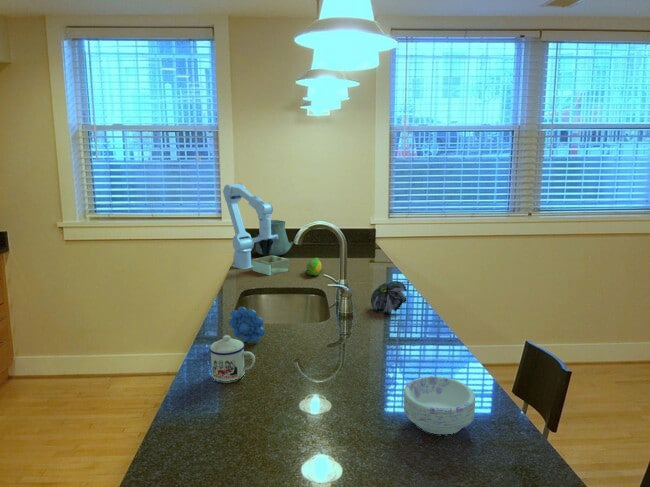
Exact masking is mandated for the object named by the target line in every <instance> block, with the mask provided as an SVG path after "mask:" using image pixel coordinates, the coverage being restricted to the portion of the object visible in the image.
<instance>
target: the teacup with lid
mask: <svg viewBox="0 0 650 487" xmlns="http://www.w3.org/2000/svg"><path fill="white" fill-rule="evenodd" d="M209 351H210V360H211V362H210V363H211V377H212V376H213V378H214V379H217V380H221V381H230V380H235V379H238V378H241V377H242V376H243V375H244V374H245V372H246V370H250V369H251V368H253V367H254V365H255V363H256V356H255V354H254V353H253V352H251V351H248V350H247V351H245V343H244V341H243V340H242V341H241V340H239V339H236V338H231V336H230V335H229V334H225V335H223V336H222V339H220V340H217V341H214V342H213V343H212V344H210V347H209ZM245 356H249V357H251V363H250V365H245ZM244 376H245V375H244ZM213 378H212V379H213Z"/></svg>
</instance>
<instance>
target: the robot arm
mask: <svg viewBox="0 0 650 487" xmlns="http://www.w3.org/2000/svg"><path fill="white" fill-rule="evenodd" d="M222 192H223V193H222V194H223V196H224V197H223V198H224V201H225V202H226V205H227V209H228V212H229V215H230V220H231V223H232V226H233V231H234V233H235V234H234V235H233V237H232V238H231V239H232V247H233V249H234V252H233V266H232V267H233V268H236V269H237V268H238V269H240V270H244V269H249V268H253V265H252V253H251V251H252V250H253V249H254V246H255V243H257V242H258V243H259V245H260V247H261V249H262V252H263V255H262V256H269V253H270V249H271V246H272V244H273V240H272V239H278V235H271V220H272V219H271V218H272V217H271V215H272V214H273V212H274V208H273V205H272V204H271V203H270V202H265V200H263V199H261V198H260V197H259V195H253V194H252V193H250V191H249V190H247V188H246V186H245V185H244V184H242V183H238V184H237V183H236V184H235V183H234V184H225V186H224V188H223V190H222ZM242 198H243V199H244V200H246V201H248V205H249V206H251V208H253V209H254V210H255V211H256V214H257V218H258V224H259V226H258V228H259V229H258V230H259V231H258V232H259V235H260V236H259V237H257V236H256V237H252V236H251V234H250V233H249V232H247V231H246V228H245V225H244V223H243V222H244V221H243V218H242V214H241V211H240V207H239V205H238V204H239V201H241V199H242Z"/></svg>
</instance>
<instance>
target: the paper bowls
mask: <svg viewBox="0 0 650 487" xmlns="http://www.w3.org/2000/svg"><path fill="white" fill-rule="evenodd" d="M475 395H476V394H475V392H474V391H473V389H472V388H471V387H469V386H468V385H467V384H466V383H463V382H462V381H459V380H456V379H454V378H451V377H450V378H449V377H445V376H433V375H431V376H423V377H421V376H420V377H418V378H415V379H413V380H411V381H409V382H408V383H407V384H406V385H405V387H404V389H403V412H404V414H405V416H406V417H407V419H408V420H410V421H411V422H412V423H413V424H414V425H416V427H418V426H419V427H420V428H422V429H423V430H425V431H427V432H430V433H434V434H451V435H453V433H454V434H456V433H458V432H459V431H460V430H462V429H463V428H465V427H467V426H469V425H471V423H473V421H474V418H475V411H476V396H475ZM419 427H418V428H419ZM420 428H419V429H420ZM423 430H422V431H423ZM425 431H424V432H425ZM427 432H426V433H427ZM430 433H429V434H430Z"/></svg>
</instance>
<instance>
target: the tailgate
mask: <svg viewBox="0 0 650 487" xmlns="http://www.w3.org/2000/svg"><path fill="white" fill-rule="evenodd" d="M251 264H252V266H253V267H252V271H253V272H256V273H259V274H263V275H267V276H272V275H271V263H269V262H265V261H261V260H257V259H256V258H251Z"/></svg>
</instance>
